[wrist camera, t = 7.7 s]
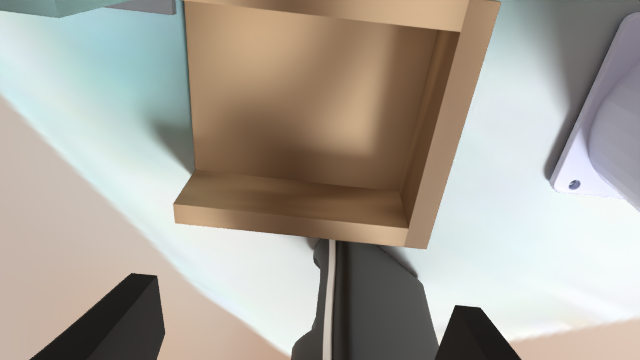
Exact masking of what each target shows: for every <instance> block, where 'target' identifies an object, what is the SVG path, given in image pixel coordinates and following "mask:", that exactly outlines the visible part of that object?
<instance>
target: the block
mask: <svg viewBox="0 0 640 360" xmlns="http://www.w3.org/2000/svg"><path fill="white" fill-rule="evenodd" d="M126 1H130V0H0V11H8V12H16V13H24V14H31V15H39V16H47V17H55V18H60V17H64V16H69V15H73V14H77V13H81V12H85V11H89V10H93V9H97V8H101V7H105V6H109V5H113V4H118V3H122V2H126Z"/></svg>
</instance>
